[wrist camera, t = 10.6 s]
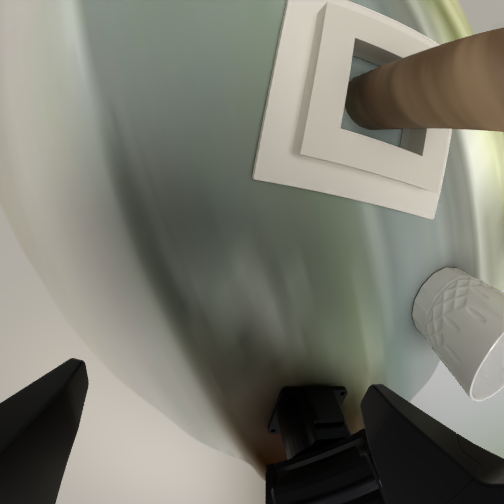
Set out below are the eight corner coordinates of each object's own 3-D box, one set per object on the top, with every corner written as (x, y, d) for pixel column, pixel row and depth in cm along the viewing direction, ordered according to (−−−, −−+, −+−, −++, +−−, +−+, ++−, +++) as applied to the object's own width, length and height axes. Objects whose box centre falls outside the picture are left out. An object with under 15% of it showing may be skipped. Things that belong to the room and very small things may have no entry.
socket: (426, 216, 21) (449, 226, 18) (251, 177, 19) (257, 183, 16) (450, 57, 17) (473, 52, 14) (288, -11, 15) (299, -30, 12)
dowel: (377, 141, 19) (532, 157, 7) (333, 104, 18) (479, 70, 6) (402, 100, 18) (552, 89, 6) (361, 64, 17) (502, 9, 5)
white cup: (477, 262, 24) (549, 308, 14) (451, 333, 26) (508, 390, 17) (421, 257, 22) (504, 315, 13) (395, 338, 25) (452, 412, 16)
